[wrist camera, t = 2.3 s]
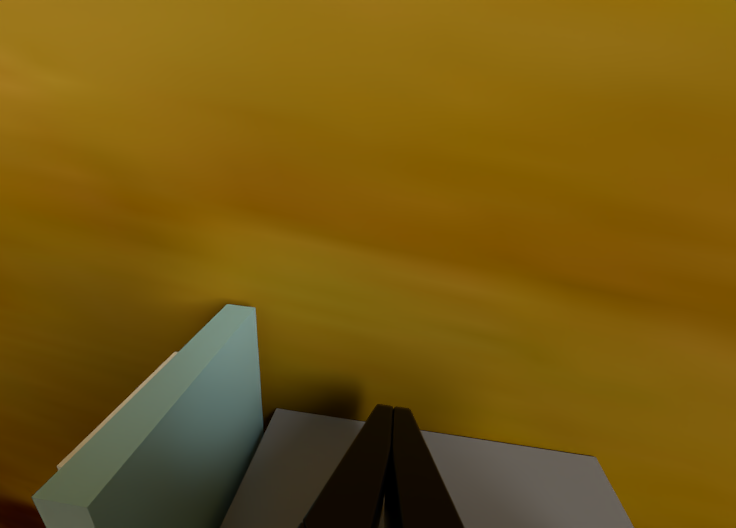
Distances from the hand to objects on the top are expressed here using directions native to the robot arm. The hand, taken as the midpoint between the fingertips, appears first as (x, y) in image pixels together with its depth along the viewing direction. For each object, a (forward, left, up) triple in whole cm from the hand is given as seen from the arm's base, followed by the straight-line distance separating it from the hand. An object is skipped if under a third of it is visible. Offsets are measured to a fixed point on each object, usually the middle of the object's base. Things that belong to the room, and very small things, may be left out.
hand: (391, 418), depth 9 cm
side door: (-3, +7, -1) cm, 8 cm away
